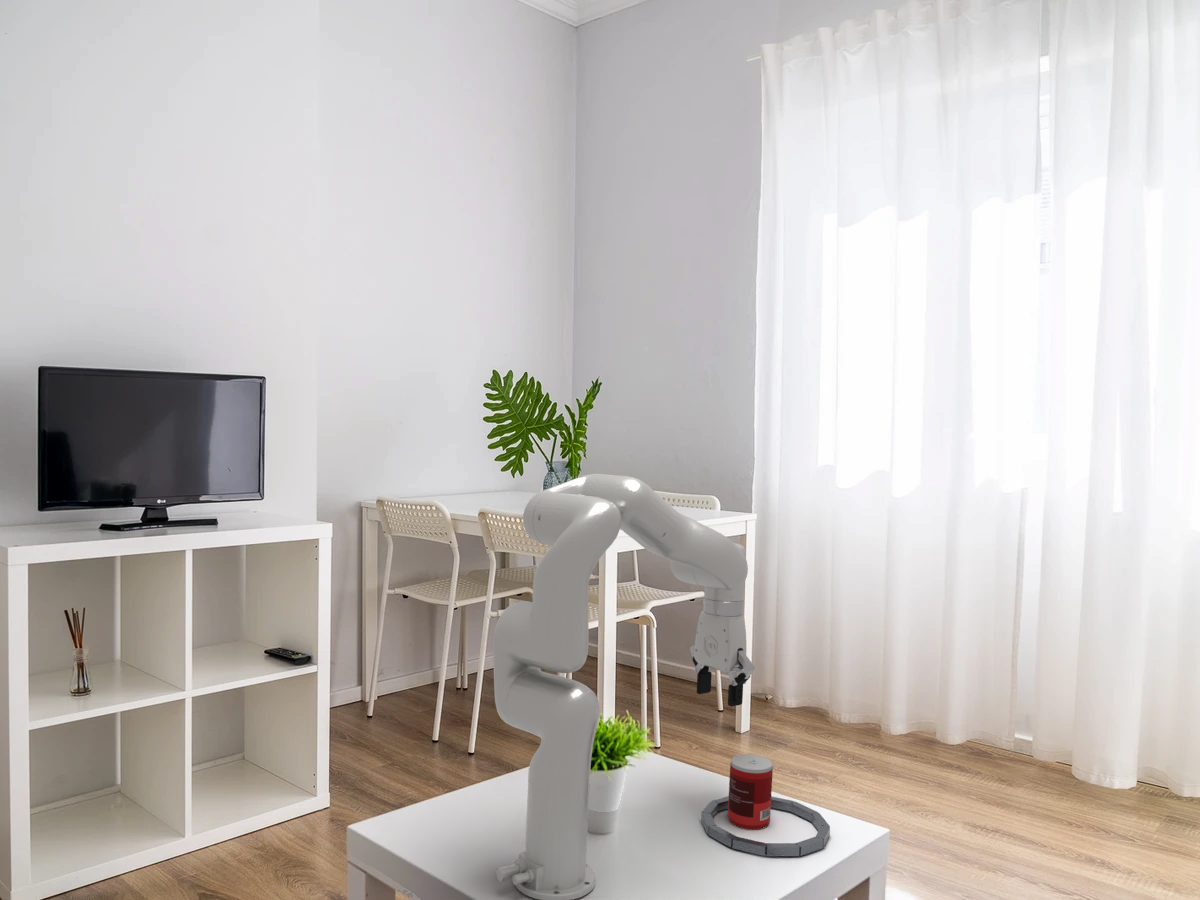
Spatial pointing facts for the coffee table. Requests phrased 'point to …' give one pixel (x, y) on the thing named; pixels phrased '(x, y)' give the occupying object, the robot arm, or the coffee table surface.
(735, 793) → the canned food
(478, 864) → the coffee table surface
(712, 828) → the ring
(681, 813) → the coffee table surface
